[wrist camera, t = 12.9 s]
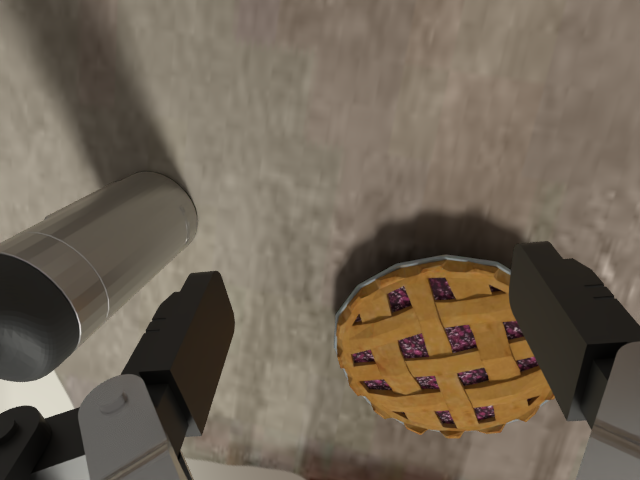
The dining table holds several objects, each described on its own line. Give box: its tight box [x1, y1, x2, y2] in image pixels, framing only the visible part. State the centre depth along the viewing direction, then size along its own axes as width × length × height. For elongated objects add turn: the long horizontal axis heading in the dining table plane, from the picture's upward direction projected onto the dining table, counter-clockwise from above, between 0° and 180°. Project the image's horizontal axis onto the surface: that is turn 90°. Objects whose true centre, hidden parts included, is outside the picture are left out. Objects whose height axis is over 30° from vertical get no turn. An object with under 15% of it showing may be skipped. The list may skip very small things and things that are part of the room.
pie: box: [334, 254, 555, 438], centre depth 42 cm, size 22×22×5 cm
